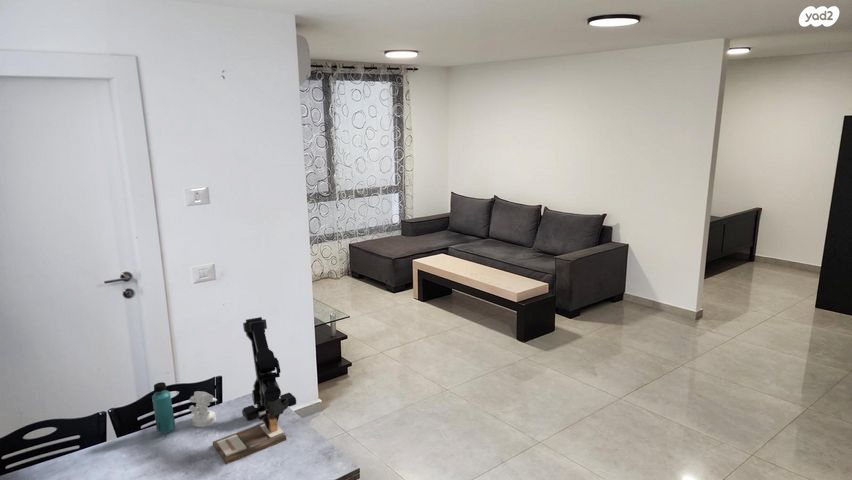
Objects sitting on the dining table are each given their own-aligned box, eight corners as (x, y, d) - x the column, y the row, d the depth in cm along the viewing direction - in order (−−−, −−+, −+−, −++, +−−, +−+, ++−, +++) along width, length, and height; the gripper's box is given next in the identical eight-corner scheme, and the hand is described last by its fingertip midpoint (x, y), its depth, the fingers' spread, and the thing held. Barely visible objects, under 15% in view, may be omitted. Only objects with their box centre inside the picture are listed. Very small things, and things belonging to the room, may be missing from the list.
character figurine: (187, 422, 208) (184, 394, 206) (209, 411, 216) (206, 384, 213) (200, 429, 203) (197, 401, 201) (222, 418, 211) (219, 390, 208)
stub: (260, 426, 202) (258, 413, 200) (272, 422, 205) (271, 408, 203) (270, 438, 194) (269, 425, 193) (283, 433, 197) (282, 420, 196)
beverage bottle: (179, 427, 205) (173, 379, 200) (169, 437, 198) (162, 388, 194) (163, 426, 206) (156, 379, 201) (153, 436, 199) (145, 388, 195)
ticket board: (213, 445, 193) (212, 439, 193) (271, 423, 207) (270, 418, 206) (225, 464, 183) (225, 458, 182) (286, 440, 196) (285, 434, 195)
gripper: (251, 406, 184) (255, 446, 187) (301, 389, 195) (304, 427, 199) (240, 393, 192) (243, 432, 196) (288, 377, 204) (291, 414, 207)
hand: (271, 426), depth 199 cm, fingers closed on stub, 2 cm apart
